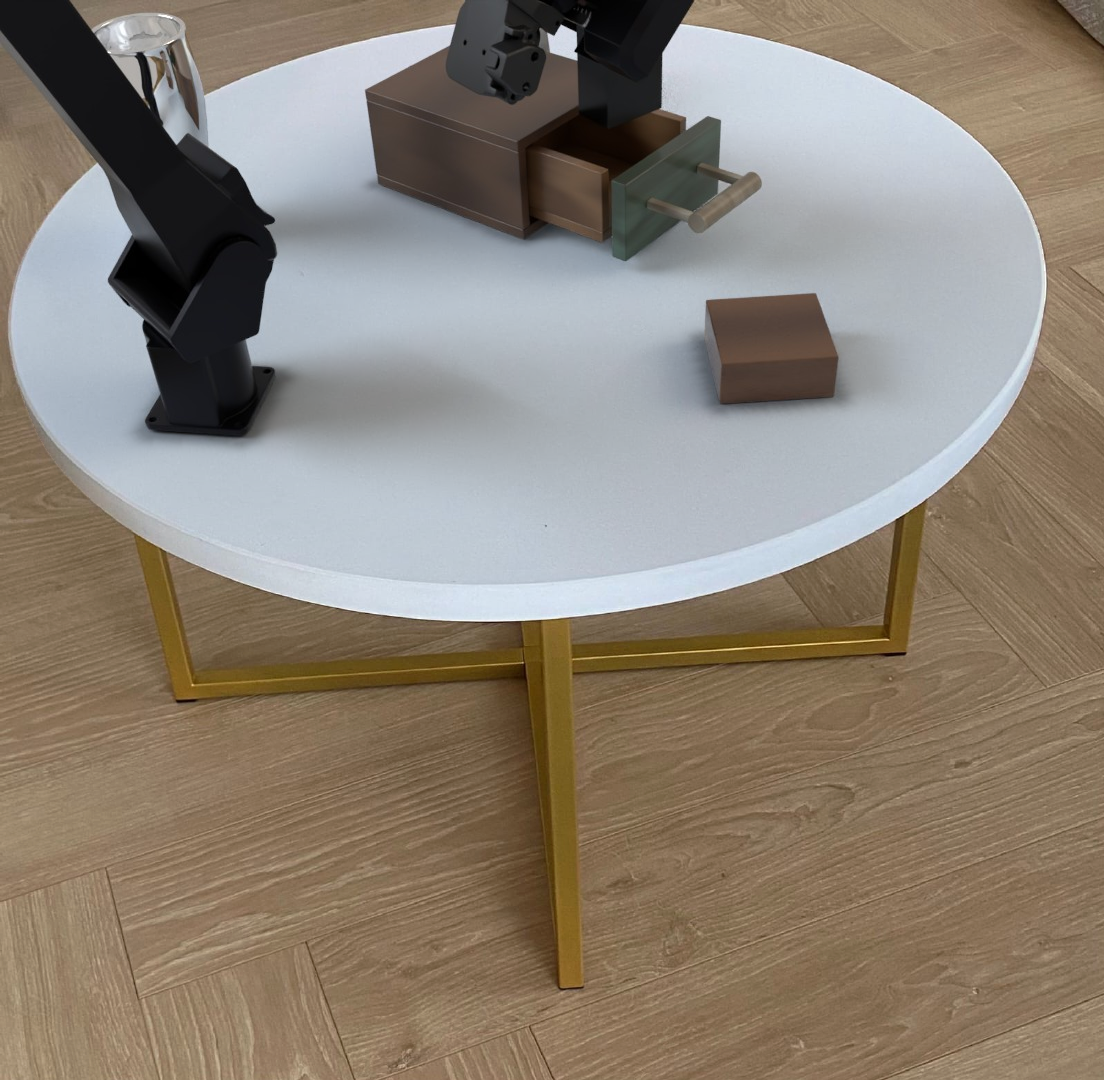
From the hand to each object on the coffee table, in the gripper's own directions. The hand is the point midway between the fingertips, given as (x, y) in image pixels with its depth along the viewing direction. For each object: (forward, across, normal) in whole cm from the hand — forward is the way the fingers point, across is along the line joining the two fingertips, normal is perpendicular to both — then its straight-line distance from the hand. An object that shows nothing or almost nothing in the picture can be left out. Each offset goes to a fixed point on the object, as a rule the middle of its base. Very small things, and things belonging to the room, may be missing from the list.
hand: (635, 51), depth 91 cm
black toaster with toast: (+2, 0, -4) cm, 4 cm away
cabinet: (+6, -11, -11) cm, 17 cm away
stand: (+4, +20, -13) cm, 24 cm away
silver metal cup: (-10, -20, -27) cm, 35 cm away
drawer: (+7, 0, -9) cm, 11 cm away
